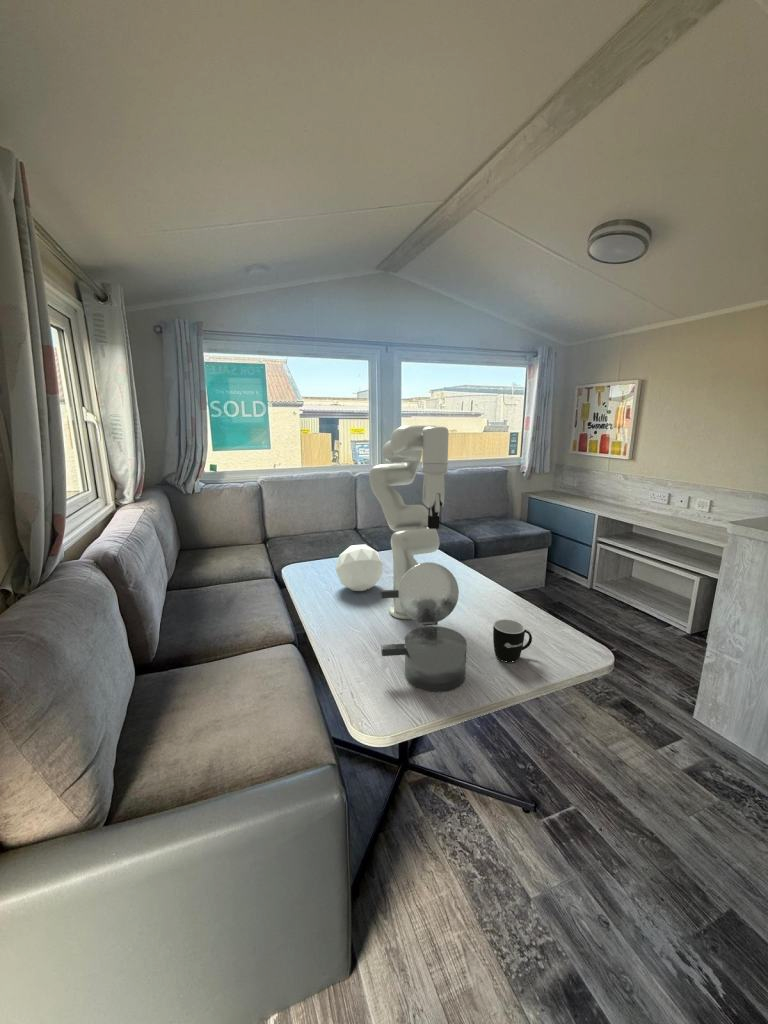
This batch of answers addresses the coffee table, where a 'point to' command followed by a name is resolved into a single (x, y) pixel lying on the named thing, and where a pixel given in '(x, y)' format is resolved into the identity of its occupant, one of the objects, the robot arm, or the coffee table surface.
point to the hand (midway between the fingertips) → (433, 527)
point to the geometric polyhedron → (359, 567)
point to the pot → (432, 658)
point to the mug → (509, 639)
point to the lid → (426, 593)
